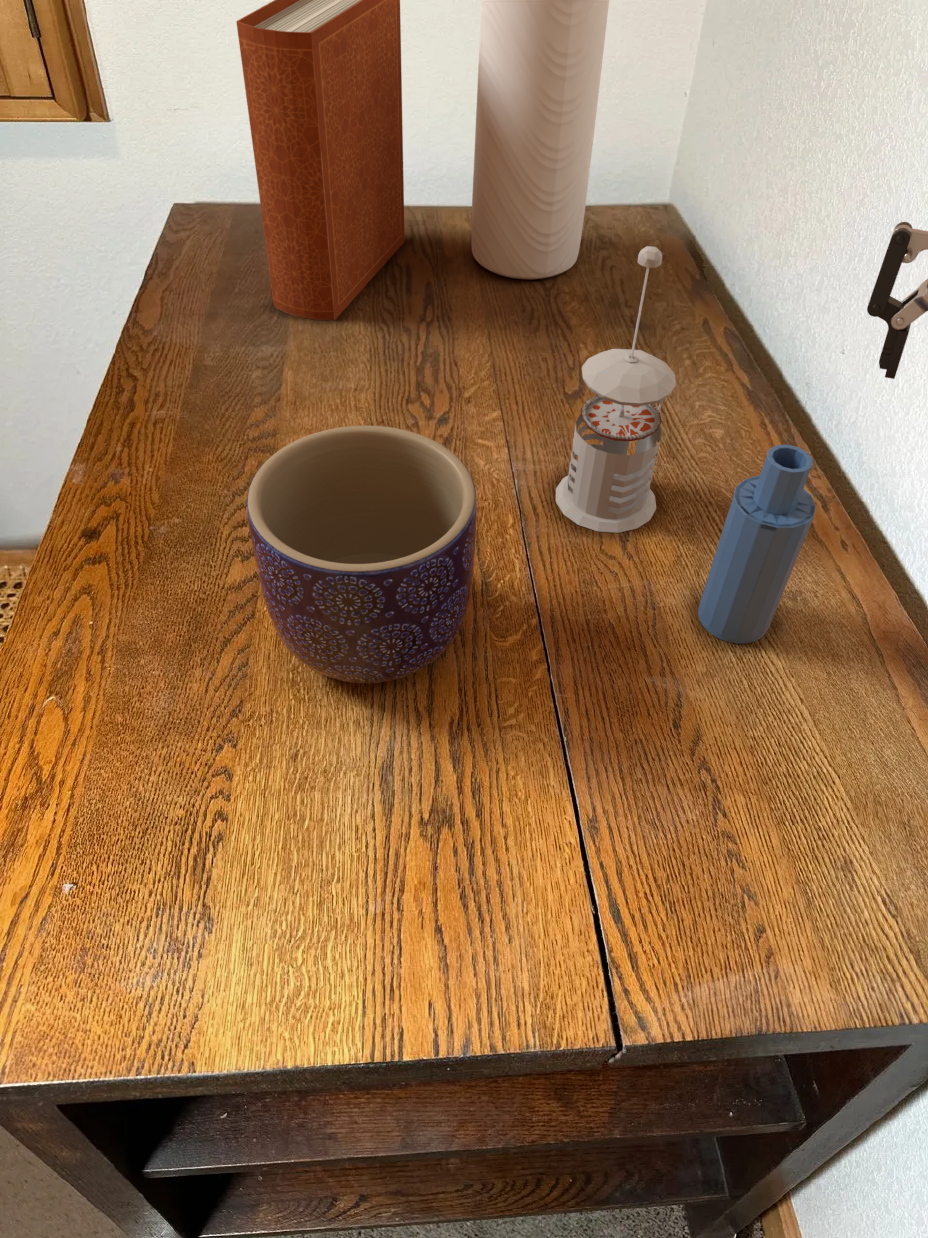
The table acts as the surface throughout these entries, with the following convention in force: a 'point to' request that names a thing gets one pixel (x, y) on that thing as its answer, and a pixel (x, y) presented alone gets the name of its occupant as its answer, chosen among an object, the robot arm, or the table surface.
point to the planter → (364, 549)
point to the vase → (534, 132)
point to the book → (325, 145)
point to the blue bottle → (758, 547)
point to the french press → (617, 435)
